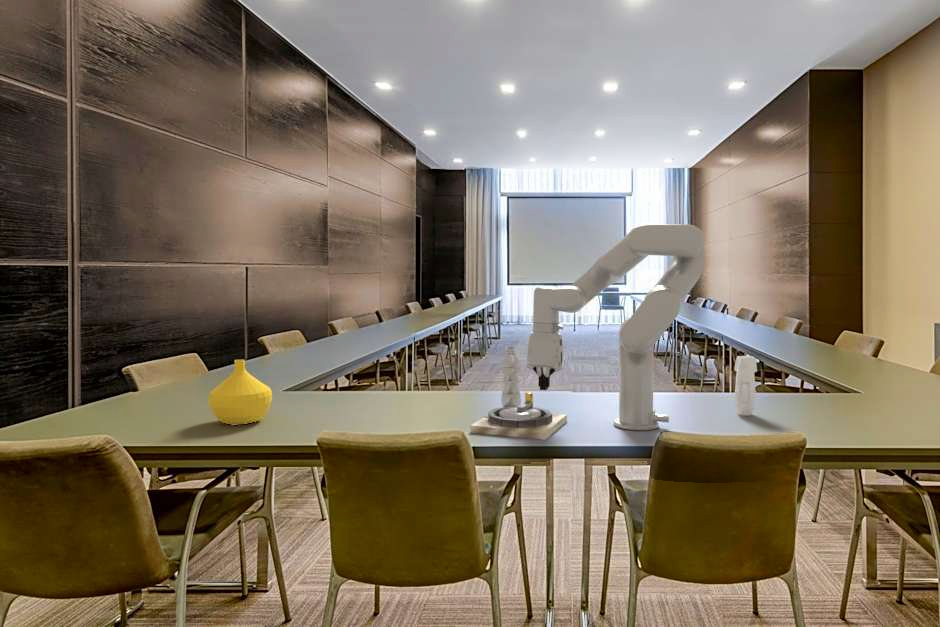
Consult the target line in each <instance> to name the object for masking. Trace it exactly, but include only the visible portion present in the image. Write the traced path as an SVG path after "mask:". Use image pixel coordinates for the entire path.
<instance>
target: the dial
mask: <svg viewBox="0 0 940 627" xmlns="http://www.w3.org/2000/svg"><path fill="white" fill-rule="evenodd" d="M530 407H534V393H533V392H531V391H529V392H524V402H523V403H521V404H520V406H518V407H517V408H508V409H503V410H501V411H500V412H499V417H502V418H507V419H534V418H539V417H541V412H540V411H539V410H536V409H532V408H530Z"/></svg>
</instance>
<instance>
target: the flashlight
mask: <svg viewBox="0 0 940 627" xmlns="http://www.w3.org/2000/svg"><path fill="white" fill-rule="evenodd" d="M733 369H734V371H735V372H736V373H735V375H736V376H735V388H734V389H735V390H734V405H735V409H736V412H737V415H738V416H742V417H743V416H745V417H750V416H752V415H753V410H754V409H755V408H754V407H755V400H756V376H755V373H757V372H758V366H757V360H756V358H755V356H749V355H748V356H747V355H737V356H736V358H735V362H734V368H733Z"/></svg>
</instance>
